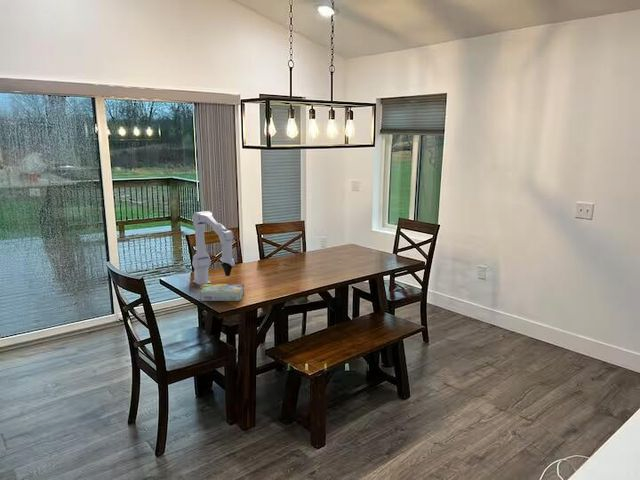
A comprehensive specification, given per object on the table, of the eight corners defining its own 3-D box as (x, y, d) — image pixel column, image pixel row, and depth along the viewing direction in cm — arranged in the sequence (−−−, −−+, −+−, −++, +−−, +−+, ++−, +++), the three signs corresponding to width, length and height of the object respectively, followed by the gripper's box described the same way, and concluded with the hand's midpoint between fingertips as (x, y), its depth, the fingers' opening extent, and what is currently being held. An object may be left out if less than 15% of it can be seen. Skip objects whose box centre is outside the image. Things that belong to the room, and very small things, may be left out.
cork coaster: (197, 286, 273) (197, 285, 273) (211, 283, 278) (211, 282, 278) (203, 290, 266) (203, 289, 266) (218, 287, 271) (218, 286, 271)
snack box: (243, 282, 261) (239, 291, 246) (244, 292, 262) (240, 301, 247) (205, 283, 260) (199, 291, 245) (206, 292, 261) (200, 301, 247)
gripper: (239, 253, 254) (240, 277, 257) (227, 248, 265) (228, 271, 268) (227, 255, 250) (228, 279, 253) (216, 250, 261) (217, 273, 264)
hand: (227, 275), depth 260 cm, fingers closed
